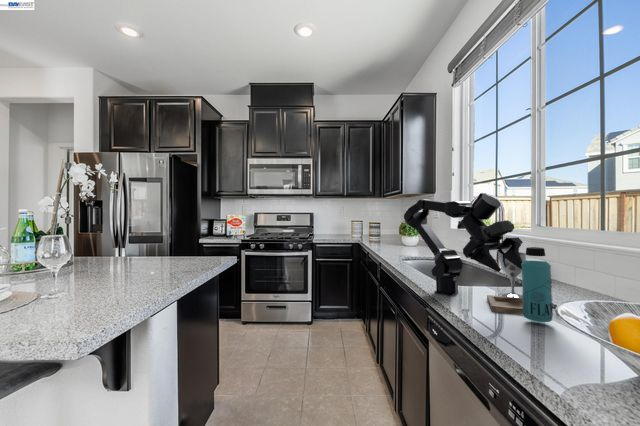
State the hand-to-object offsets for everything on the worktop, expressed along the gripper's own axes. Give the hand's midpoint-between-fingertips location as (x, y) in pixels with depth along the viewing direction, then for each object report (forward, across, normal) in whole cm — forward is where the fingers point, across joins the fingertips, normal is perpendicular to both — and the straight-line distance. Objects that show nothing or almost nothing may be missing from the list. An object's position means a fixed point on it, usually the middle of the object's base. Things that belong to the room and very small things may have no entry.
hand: (511, 269), depth 81 cm
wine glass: (-1, +18, +19) cm, 27 cm away
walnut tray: (+6, +6, +13) cm, 15 cm away
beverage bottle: (+14, 0, +4) cm, 15 cm away
